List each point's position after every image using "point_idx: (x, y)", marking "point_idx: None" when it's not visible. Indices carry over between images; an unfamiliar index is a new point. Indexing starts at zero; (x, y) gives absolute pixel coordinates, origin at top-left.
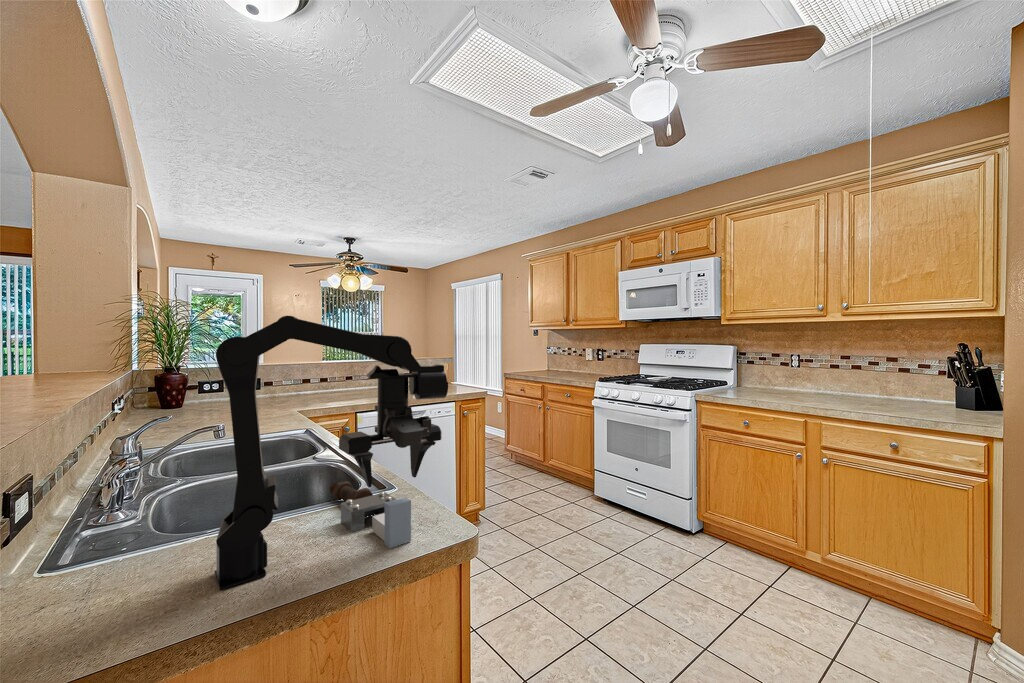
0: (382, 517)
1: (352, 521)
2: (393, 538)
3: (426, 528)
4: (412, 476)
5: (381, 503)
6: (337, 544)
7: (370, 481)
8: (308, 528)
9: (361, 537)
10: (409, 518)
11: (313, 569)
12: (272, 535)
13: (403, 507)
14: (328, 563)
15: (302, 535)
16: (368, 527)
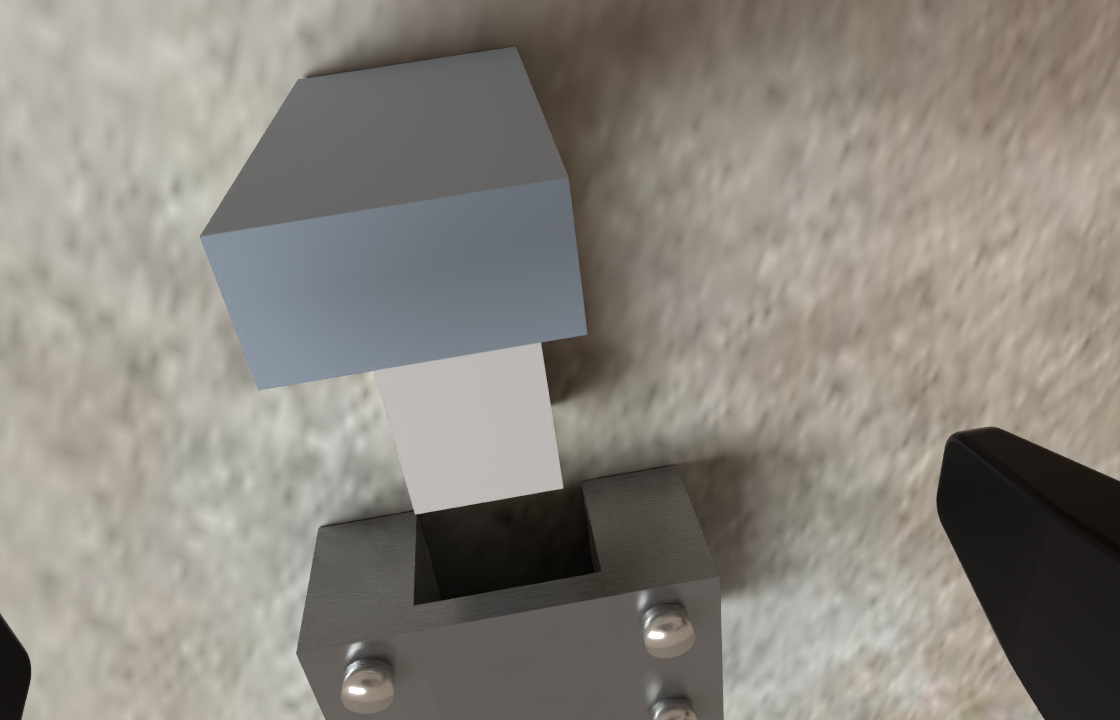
0: (493, 431)
1: (687, 518)
2: (481, 70)
3: (99, 271)
4: (22, 648)
5: (448, 630)
6: (818, 336)
7: (1057, 489)
8: (866, 608)
9: (643, 362)
10: (275, 142)
11: (1106, 42)
12: None
13: (342, 187)
14: (990, 77)
15: (929, 541)
16: None
